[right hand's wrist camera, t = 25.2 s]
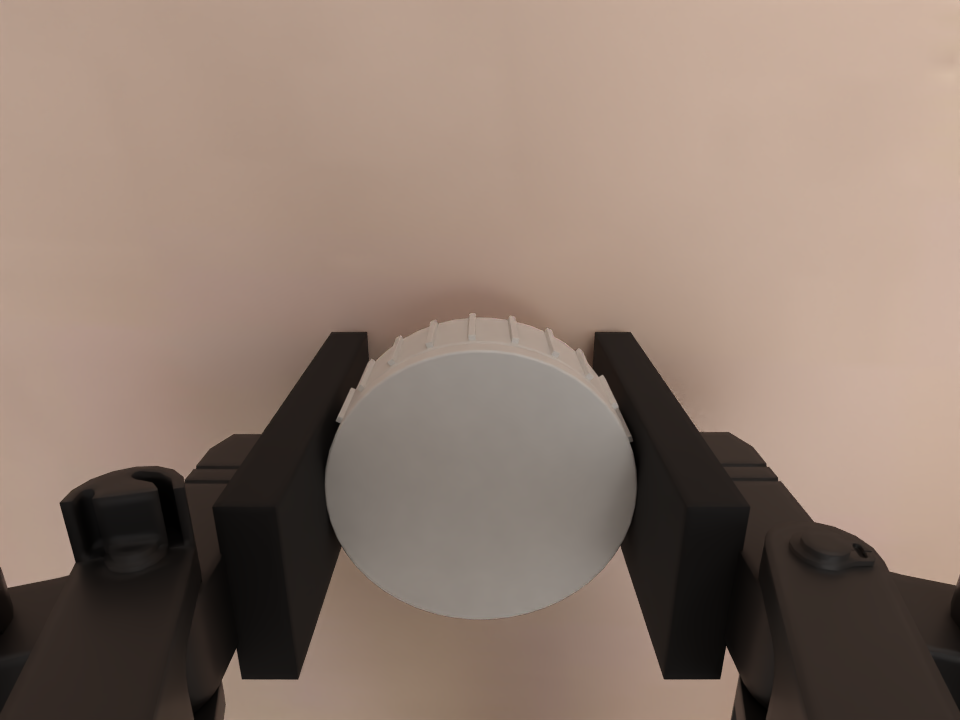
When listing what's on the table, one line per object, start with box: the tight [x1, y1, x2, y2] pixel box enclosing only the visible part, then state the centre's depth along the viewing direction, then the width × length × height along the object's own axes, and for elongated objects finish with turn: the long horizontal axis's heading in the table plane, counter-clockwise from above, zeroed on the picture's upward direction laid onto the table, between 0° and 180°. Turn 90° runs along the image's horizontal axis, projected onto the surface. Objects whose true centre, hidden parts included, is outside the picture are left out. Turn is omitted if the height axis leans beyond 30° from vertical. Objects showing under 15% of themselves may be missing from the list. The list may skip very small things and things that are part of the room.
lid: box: [325, 313, 637, 620], centre depth 11 cm, size 5×5×2 cm
